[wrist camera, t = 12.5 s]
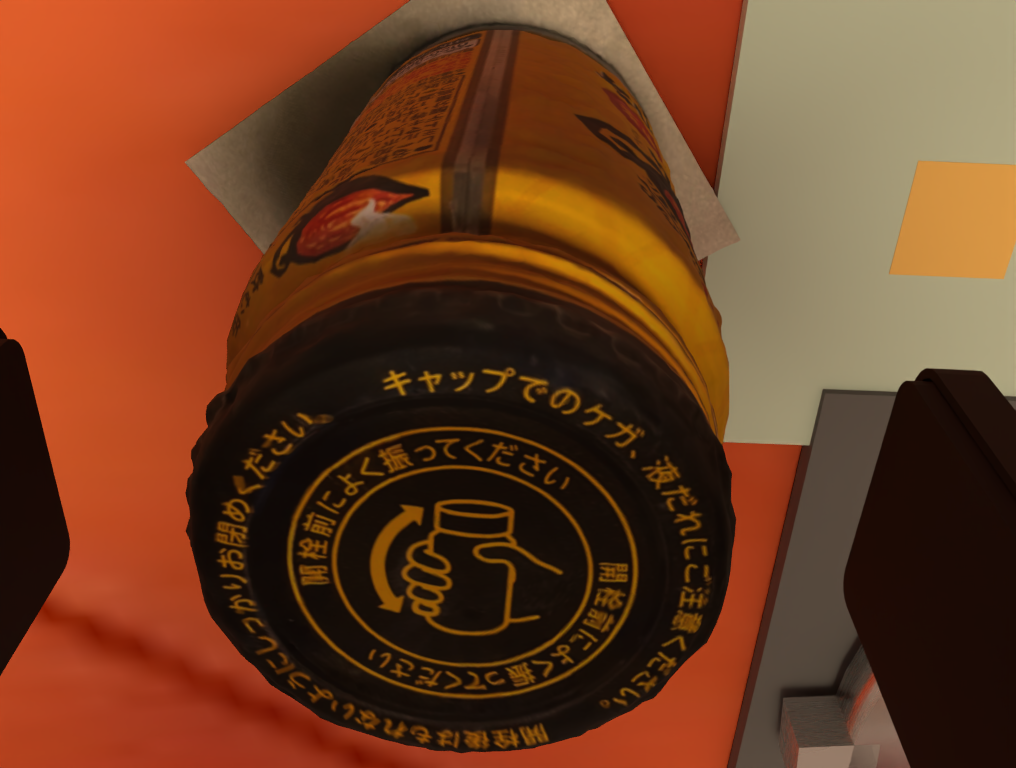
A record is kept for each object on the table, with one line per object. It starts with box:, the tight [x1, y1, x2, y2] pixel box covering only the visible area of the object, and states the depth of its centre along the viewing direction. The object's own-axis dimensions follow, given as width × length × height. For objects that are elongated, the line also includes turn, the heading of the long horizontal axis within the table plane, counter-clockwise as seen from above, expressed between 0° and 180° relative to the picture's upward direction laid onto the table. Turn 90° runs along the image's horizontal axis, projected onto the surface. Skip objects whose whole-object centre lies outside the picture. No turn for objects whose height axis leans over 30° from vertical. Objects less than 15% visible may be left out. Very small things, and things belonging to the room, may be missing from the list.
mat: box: [702, 0, 1016, 445], centre depth 20 cm, size 11×10×1 cm
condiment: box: [185, 0, 741, 753], centre depth 14 cm, size 7×8×12 cm
